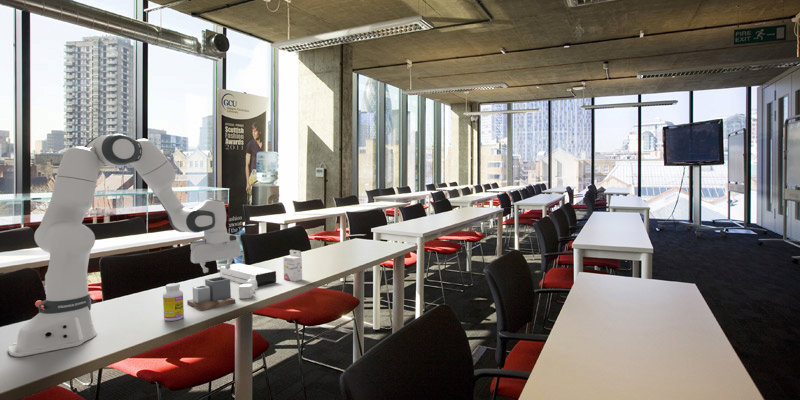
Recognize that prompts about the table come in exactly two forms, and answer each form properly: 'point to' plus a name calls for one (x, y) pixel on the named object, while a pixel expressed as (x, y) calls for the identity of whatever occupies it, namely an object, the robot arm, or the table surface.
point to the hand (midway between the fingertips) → (217, 270)
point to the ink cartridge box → (293, 266)
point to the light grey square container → (201, 294)
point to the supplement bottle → (173, 302)
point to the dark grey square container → (219, 288)
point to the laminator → (248, 274)
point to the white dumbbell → (248, 288)
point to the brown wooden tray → (211, 303)
